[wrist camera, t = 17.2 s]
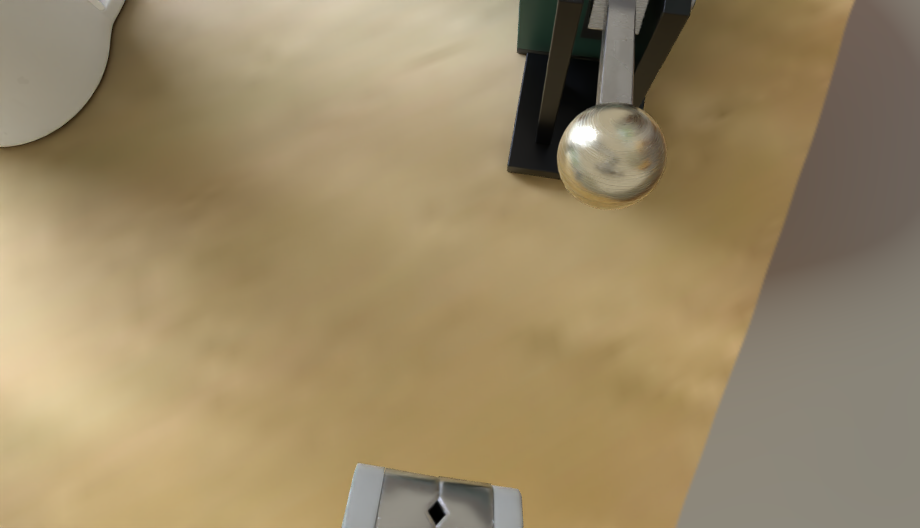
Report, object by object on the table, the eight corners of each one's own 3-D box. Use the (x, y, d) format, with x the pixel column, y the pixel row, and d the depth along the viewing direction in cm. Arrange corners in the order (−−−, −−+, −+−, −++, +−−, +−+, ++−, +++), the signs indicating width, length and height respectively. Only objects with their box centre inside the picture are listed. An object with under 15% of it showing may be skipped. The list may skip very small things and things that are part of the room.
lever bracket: (628, 189, 36) (726, 64, 20) (507, 171, 37) (512, 38, 21) (644, 76, 37) (747, -124, 22) (526, 61, 38) (544, -143, 22)
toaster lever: (648, 238, 18) (684, 166, 15) (545, 222, 18) (561, 148, 16) (650, 10, 25) (674, -68, 22) (575, 1, 26) (590, -77, 23)
